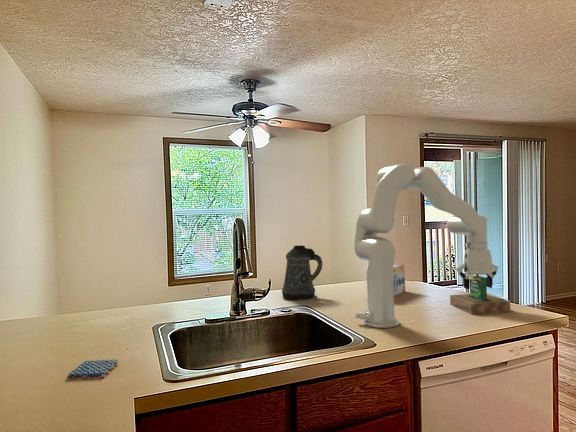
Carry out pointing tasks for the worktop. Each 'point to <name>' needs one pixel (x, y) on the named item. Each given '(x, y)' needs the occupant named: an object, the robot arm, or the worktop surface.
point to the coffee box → (478, 288)
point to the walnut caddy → (480, 304)
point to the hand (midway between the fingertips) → (477, 287)
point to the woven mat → (93, 369)
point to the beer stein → (300, 274)
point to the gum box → (398, 279)
